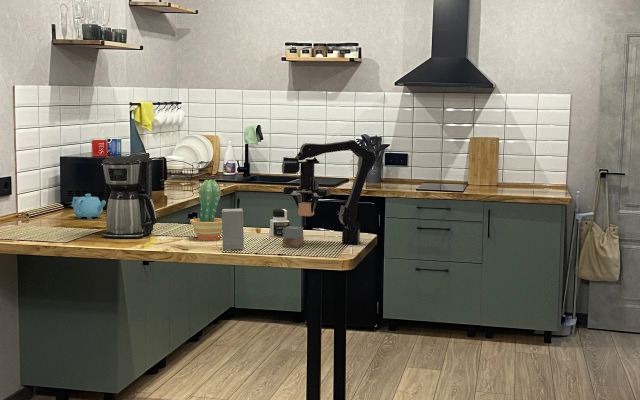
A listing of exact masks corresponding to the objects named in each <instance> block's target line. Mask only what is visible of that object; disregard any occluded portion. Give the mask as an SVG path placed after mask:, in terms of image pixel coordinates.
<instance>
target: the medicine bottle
mask: <svg viewBox="0 0 640 400" xmlns="http://www.w3.org/2000/svg"><path fill="white" fill-rule="evenodd" d="M269 222H270V223H269V224H270V225H269V229H270V230H269V236H270V237H272V238H273V239H274V238H275V239H278V238H280V239H283V238H284V228H286V227H289V226H291V225H290V224H291V223H290V220H288V210H287V209H285V208H275V209H273V210H272V219H270V220H269Z"/></svg>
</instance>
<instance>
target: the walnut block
mask: <svg viewBox="0 0 640 400" xmlns="http://www.w3.org/2000/svg"><path fill="white" fill-rule="evenodd" d="M304 242H305V237H304V236H303V237H302V238H299V239H290V238H282V248H286V249H300V248H302V247H304Z"/></svg>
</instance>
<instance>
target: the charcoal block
mask: <svg viewBox="0 0 640 400" xmlns="http://www.w3.org/2000/svg"><path fill="white" fill-rule="evenodd" d="M302 237H304V227H303V226H291V225H290V226H289V227H286V228H284V238H290V239H299V238H302Z"/></svg>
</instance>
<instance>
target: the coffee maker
mask: <svg viewBox="0 0 640 400" xmlns="http://www.w3.org/2000/svg"><path fill="white" fill-rule="evenodd" d="M101 162H102V171H103V179H104V193H105V194H104V196H105V201H106V204H105V224H106V225H105V227H106V228H105V229H106V230H105V231H106V232H104V233H102V234H101V236H102V237H103V238H110V239H140V238H143V237H146V236H150V235H151V233H152V231H154V225H156V224H157V220H158V219H157V212H156V207H155V204H154V201H153V158H152V157H147V156H144V155H143V156H141V155H137V156H136V155H135V156H134V155H131V156H130V155H120V156H119V155H117V156H111V157H108V158H106V159H105V158H104V159H103V160H102V161H101Z"/></svg>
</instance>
